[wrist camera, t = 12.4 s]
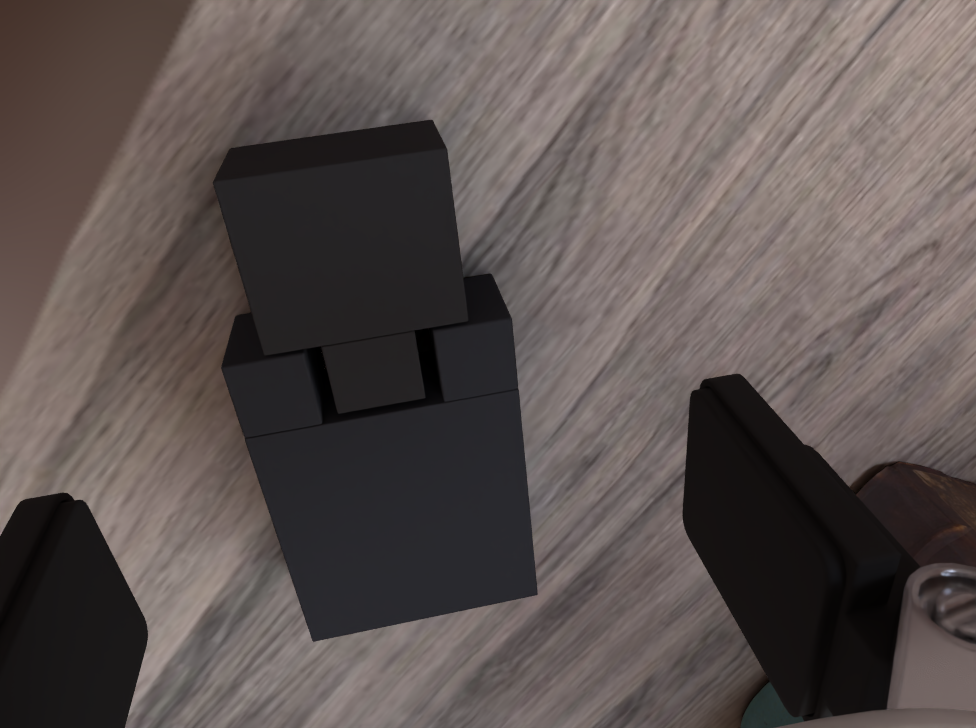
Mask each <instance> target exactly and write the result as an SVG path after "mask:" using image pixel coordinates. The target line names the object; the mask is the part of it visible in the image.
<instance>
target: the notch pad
mask: <svg viewBox="0 0 976 728" xmlns="http://www.w3.org/2000/svg"><path fill="white" fill-rule="evenodd" d="M463 279H464V287H465V295H466V303H467V311H468V321H467V322H461V323H455V324H449V325H443V326H437V327H431V328H429V333H430V340H431V346H432V351H429V352H424V353H418V355H419V360H420V366H421V372H422V378H423V384H424V390H425V396H426V397H425V398H423V399H418V400H412V401H407V402H401V403H395V404H390V405H384V406H379V407H373V408H367V409H362V410H356V411H351V412H345V413H340V414H339V413H338V412H337V409H336V405H335V401H334V397H333V393H332V389H331V385H330V381H329V377H328V373H327V369H325V370H324V364H323V360H322V356H321V353H320V349H319V347H313V348H307V349H301V350H295V351H289V352H283V353H278V354H272V355H264V353H263V350H262V347H261V343H260V340H259V336H258V333H257V330H256V326H255V323H254V320H253V316H252V313H249V314H243V315H237V316H235V319H234V323H233V326H232V330H231V334H230V337H229V341H228V345H227V348H226V352H225V356H224V359H223V363H222V367H221V369H222V372H223V375H224V378H225V381H226V384H227V387H228V390H229V393H230V396H231V399H232V402H233V405H234V408H235V411H236V414H237V417H238V420H239V423H240V426H241V429H242V432H243V435H244V437H245V442H246V445H247V448H248V451H249V454H250V456H251V459H252V462H253V465H254V468H255V471H256V474H257V477H258V480H259V483H260V486H261V489H262V492H263V495H264V498H265V501H266V504H267V507H268V510H269V513H270V516H271V519H272V522H273V525H274V528H275V531H276V534H277V537H278V540H279V543H280V546H281V549H282V551H283V554H284V557H285V560H286V563H287V566H288V569H289V572H290V575H291V578H292V581H293V584H294V587H295V590H296V593H297V596H298V599H299V602H300V605H301V608H302V611H303V614H304V617H305V620H306V623H307V626H308V629H309V632H310V635H311V638H312V641H313V642H314V641H319V640H324V639H329V638H333V637H338V636H343V635H348V634H353V633H357V632H362V631H367V630H372V629H377V628H381V627H386V626H391V625H396V624H401V623H405V622H410V621H415V620H420V619H424V618H429V617H434V616H439V615H444V614H448V613H453V612H458V611H463V610H468V609H472V608H477V607H482V606H487V605H492V604H496V603H501V602H506V601H511V600H516V599H520V598H525V597H530V596H535V595H537V594H538V593H537V582H536V571H535V560H534V550H533V539H532V528H531V517H530V507H529V496H528V485H527V474H526V464H525V453H524V442H523V431H522V421H521V410H520V399H519V390H518V379H517V369H516V358H515V347H514V336H513V326H512V318H511V316H510V314H509V311H508V309H507V307H506V305H505V302H504V300H503V298H502V296H501V294H500V291H499V289H498V287H497V285H496V282H495V280H494V278H493V276H492V274H487V275H481V276H475V277H469V278H463Z"/></svg>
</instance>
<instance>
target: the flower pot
mask: <svg viewBox="0 0 976 728" xmlns="http://www.w3.org/2000/svg"><path fill="white" fill-rule="evenodd" d="M800 722H805V721H804V720H803V718H802V716H800V717H793V716H791V715H790V714H789V713H788V711H787V710H786V708H785V707H784V705H783V703H782V702H781V700H780V698H779V696H778V695H777V693H776V691H775V689H774V688H773V686H772V684H771V682H769V683H768V684H766V685H765V686H764V687H763V688H762V689H761V691H760V692H759V693H758V694H757V695H756V696H755V697H754V699H753V700H752V701H751V703H750V704H749V706H748V708H747V709H746V711H745V713H744V716H743V718H742V722H741V727H740V728H776V727H780V726H785V725H790V724H795V723H800Z"/></svg>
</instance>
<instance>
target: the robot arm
mask: <svg viewBox="0 0 976 728" xmlns="http://www.w3.org/2000/svg"><path fill="white" fill-rule="evenodd" d="M683 523H684V527H685V530H686V533H687V535H688V537H689V539H690V541H691V543H692V545H693V546H694V548H695V550H696V552H697V553H698V555H699V557H700V559H701V560H702V562H703V564H704V566H705V568H706V569H707V571H708V573H709V575H710V576H711V578H712V580H713V582H714V583H715V585H716V587H717V589H718V590H719V592H720V594H721V596H722V598H723V599H724V601H725V603H726V605H727V606H728V608H729V610H730V612H731V613H732V615H733V617H734V619H735V620H736V622H737V624H738V626H739V628H740V629H741V631H742V633H743V635H744V636H745V638H746V640H747V642H748V643H749V645H750V647H751V649H752V650H753V652H754V654H755V656H756V658H757V659H758V661H759V663H760V665H761V666H762V668H763V670H764V672H765V673H766V675H767V677H768V679H769V681H770V682H771V684H772V686H773V688H774V689H775V691H776V693H777V695H778V696H779V698H780V700H781V702H782V703H783V705H784V707H785V708H786V710H787V711H788V713H789V714H790V715H791V716H793V717H800V716H802V718H803V720H804V721H805V722H800V723H795V724H790V725H785V726H780V727H776V728H976V568H975V567H972V566H967V565H961V564H956V563H934V564H930V565H927V566H924V567H920V565H919V564H918V563H917V562H916V561H915V560H914V559H913V558H912V557H911V555H910V554H909V553H908V552H907V551H906V550H905V549H904V548H903V547H902V545H901V544H900V543H899V542H898V541H897V540H896V539H895V538H894V537H893V535H892V534H891V533H890V532H889V531H888V530H887V529H886V528H885V527H884V525H883V524H882V523H881V522H880V521H879V520H878V519H877V518H876V517H875V515H874V514H873V513H872V512H871V511H870V510H869V509H868V508H867V507H866V505H865V504H864V503H863V502H862V501H861V500H860V499H859V498H858V497H857V495H856V494H855V493H854V492H853V491H852V490H851V489H850V488H849V487H848V485H847V484H846V483H845V482H844V481H843V480H842V479H841V478H840V477H839V475H838V474H837V473H836V472H835V471H834V470H833V469H832V468H831V467H830V465H829V464H828V463H827V462H826V461H825V460H824V459H823V458H822V457H821V455H820V454H819V453H818V452H817V451H815V450H814V449H813V448H812V447H811V446H807V445H804V444H803V443H802V442H801V441H800V440H799V439H798V438H797V436H796V435H795V434H794V433H793V432H792V431H791V430H790V428H789V427H788V426H787V425H786V424H785V423H784V422H783V421H782V419H781V418H780V417H779V416H778V415H777V414H776V413H775V412H774V410H773V409H772V408H771V407H770V406H769V405H768V404H767V403H766V401H765V400H764V399H763V398H762V397H761V396H760V395H759V394H758V392H757V391H756V390H755V389H754V388H753V387H752V386H751V385H750V383H749V382H748V381H747V380H746V379H745V378H744V377H743V376H742V375H741V374H732V375H726V376H721V377H715V378H709V379H705V380H703V381H702V383H701V385H700V389H699V390H694V391H692V393H691V396H690V408H689V423H688V438H687V453H686V469H685V484H684V499H683ZM147 640H148V630H147V624H146V621H145V618H144V616H143V614H142V612H141V610H140V608H139V606H138V604H137V602H136V600H135V598H134V596H133V594H132V592H131V590H130V588H129V586H128V584H127V582H126V580H125V578H124V576H123V574H122V572H121V570H120V568H119V566H118V564H117V562H116V560H115V558H114V556H113V555H112V553H111V551H110V549H109V547H108V545H107V543H106V541H105V539H104V537H103V535H102V533H101V531H100V529H99V527H98V525H97V523H96V521H95V519H94V517H93V515H92V513H91V511H90V509H89V507H88V505H87V504H86V503H85V502H84V501H83V500H74V499H73V498H72V496H70V495H69V494H68V493H58V494H53V495H47V496H41V497H36V498H30V499H25V500H23V501H21V502H20V503H19V504H18V505H17V507H16V509H15V510H14V512H13V514H12V516H11V518H10V519H9V521H8V523H7V525H6V527H5V528H4V530H3V532H2V534H1V536H0V728H125V725H126V721H127V717H128V713H129V710H130V706H131V702H132V698H133V695H134V691H135V687H136V683H137V680H138V676H139V672H140V668H141V664H142V661H143V657H144V653H145V649H146V646H147Z"/></svg>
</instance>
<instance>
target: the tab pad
mask: <svg viewBox="0 0 976 728" xmlns="http://www.w3.org/2000/svg"><path fill="white" fill-rule="evenodd" d="M213 185H214V188H215V192H216V195H217V198H218V202H219V205H220V208H221V212H222V215H223V219H224V222H225V225H226V229H227V232H228V235H229V239H230V242H231V246H232V249H233V252H234V256H235V259H236V262H237V266H238V269H239V272H240V276H241V279H242V283H243V286H244V289H245V293H246V296H247V299H248V303H249V306H250V310H251V313H252V316H253V320H254V323H255V326H256V330H257V333H258V336H259V340H260V343H261V347H262V350H263V353H264V355H272V354H278V353H283V352H289V351H295V350H301V349H307V348H313V347H319V346H321V349H322V353H323V357H324V361H325V365H326V369H327V373H328V377H329V381H330V385H331V389H332V393H333V397H334V401H335V405H336V409H337V412H338V413H339V414H340V413H345V412H351V411H356V410H362V409H367V408H373V407H379V406H384V405H390V404H395V403H401V402H407V401H412V400H418V399H423V398H425V397H426V396H425V390H424V384H423V378H422V372H421V366H420V360H419V355H418V349H417V343H416V337H415V331H414V330H419V329H425V328H431V327H437V326H443V325H449V324H455V323H461V322H467V321H468V311H467V303H466V295H465V287H464V279H463V272H462V264H461V256H460V248H459V240H458V232H457V224H456V216H455V208H454V200H453V193H452V185H451V177H450V169H449V161H448V153H447V148H446V146H445V144H444V142H443V140H442V138H441V136H440V134H439V132H438V130H437V128H436V126H435V124H434V122H433V120H427V121H420V122H413V123H406V124H399V125H392V126H385V127H378V128H370V129H363V130H356V131H349V132H342V133H335V134H328V135H321V136H314V137H307V138H300V139H293V140H286V141H279V142H272V143H264V144H257V145H250V146H243V147H236V148H231V149H230V150H229V152H228V153H227V155H226V157H225V159H224V161H223V163H222V165H221V167H220V169H219V171H218V173H217V175H216V177H215V179H214V181H213Z"/></svg>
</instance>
